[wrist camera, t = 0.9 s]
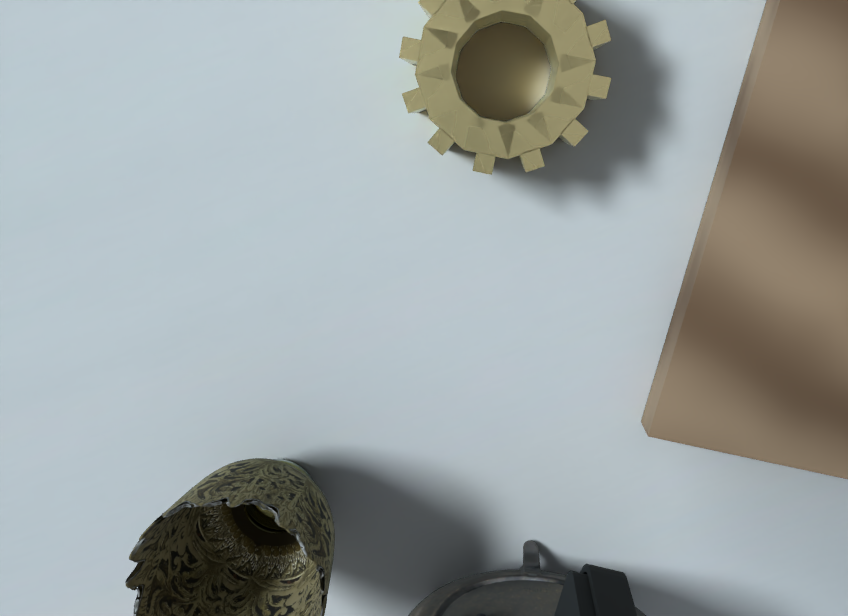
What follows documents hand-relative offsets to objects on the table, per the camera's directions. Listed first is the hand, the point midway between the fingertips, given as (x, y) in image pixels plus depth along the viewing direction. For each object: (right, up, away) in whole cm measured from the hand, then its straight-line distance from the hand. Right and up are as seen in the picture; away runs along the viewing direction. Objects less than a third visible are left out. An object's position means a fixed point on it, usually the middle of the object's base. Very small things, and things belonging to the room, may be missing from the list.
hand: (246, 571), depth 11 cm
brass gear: (+6, +13, +18) cm, 23 cm away
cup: (-4, -5, +24) cm, 25 cm away
